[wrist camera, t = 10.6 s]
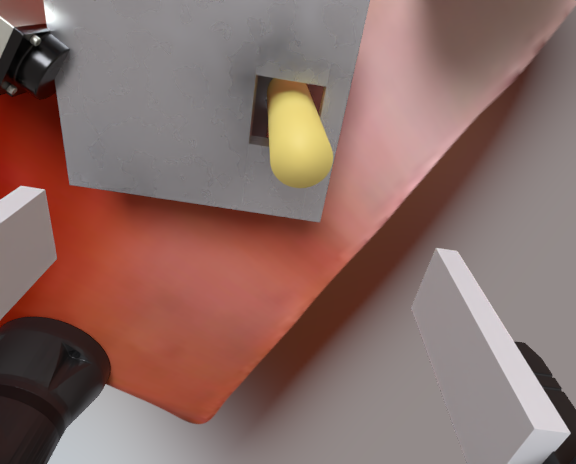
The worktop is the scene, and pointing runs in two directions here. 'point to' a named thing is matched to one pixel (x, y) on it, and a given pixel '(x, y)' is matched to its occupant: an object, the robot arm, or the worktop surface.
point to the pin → (296, 135)
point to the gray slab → (197, 94)
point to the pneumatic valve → (28, 50)
